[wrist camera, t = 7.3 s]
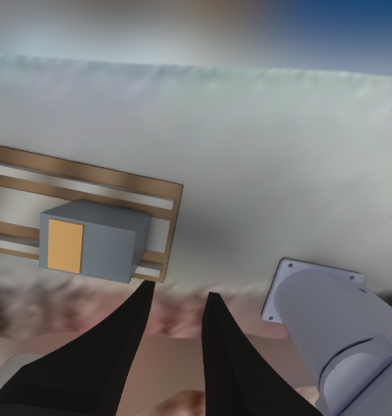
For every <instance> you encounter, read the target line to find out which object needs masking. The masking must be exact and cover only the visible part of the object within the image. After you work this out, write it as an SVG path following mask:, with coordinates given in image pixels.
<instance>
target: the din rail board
mask: <svg viewBox="0 0 392 416" xmlns="http://www.w3.org/2000/svg"><path fill="white" fill-rule="evenodd" d="M182 187H183V185H182V184H177V183H172V182H168V181H163V180H158V179H154V178H149V177H144V176H139V175H135V174H130V173H125V172H121V171H116V170H111V169H107V168H102V167H97V166H93V165H88V164H83V163H79V162H74V161H69V160H64V159H60V158H55V157H50V156H46V155H41V154H36V153H32V152H27V151H22V150H18V149H13V148H8V147H4V146H0V253H4V254H9V255H15V256H20V257H26V258H31V259H36V260H39V235H40V212H43V211H46V210H49V209H52V208H55V207H57V206H60V205H63V204H66V203H69V202H72V201H74V200H77V199H84V200H89V201H94V202H99V203H104V204H109V205H114V206H119V207H123V208H128V209H133V210H138V211H143V212H148V213H151V219H150V225H149V231H148V237H147V243H146V249H145V254H144V256H143V258H142V260H141V262H140V264H139V265H138V267H137V269H136V271H135V273H134V275H133V278H139V279H144V280H149V281H155V282H160V283H163V282H164V278H165V273H166V268H167V263H168V258H169V253H170V248H171V243H172V238H173V233H174V228H175V222H176V217H177V212H178V207H179V202H180V197H181V192H182Z"/></svg>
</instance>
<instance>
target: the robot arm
mask: <svg viewBox="0 0 392 416" xmlns="http://www.w3.org/2000/svg"><path fill="white" fill-rule="evenodd" d="M290 263H291V265H290V266H288V265H289V264H290ZM350 276H351V277H350ZM364 280H365V277H364V276H363V275H362V274H360V273H355V272H350V271H345V270H340V269H335V268H330V267H324V266H319V265H314V264H309V263H304V262H299V261H294V260H289V259H283V260H282V261H281V262H280V265H279V268H278V271H277V273H276V276H275V279H274V282H273V284H272V287H271V290H270V293H269V296H268V298H267V301H266V304H265V307H264V309H263V312H262V318H263V320H265V321H270V322H275V323H281V324H284V326H285V328H286V330H287V332H288V334H289V336H290V338H291V340H292V341H293V343H294V345H295V347H296V349H297V351H298V353H299V355H300V357H301V359H302V360H303V362H304V364H305V366H306V368H307V370H308V372H309V374H310V376H311V378H312V380H313V381H314V383H315V385H316V387H317V389H318V391H319V393H320V396H319V398H318V400H317V401H316V402H315V404H316V406H317V409H316V408H315V407H314V406H313V405H312V404H310V403H309V402H308V401H307V400H306V399H304V398H303V397H302V396H301V395H300V394H299V393H297V392H296V391H295V390H294V389H293V388H292V387H291V386H290V385H289V384H287V382H286V381H284V380H283V378H281V377H280V375H278V374H277V373H276V371H274V369H273V368H272V367H271V366H270V365H269V364H268V363H267V362H266V361H265V360H264V359H263V358H262V357H261V355H260V354H259V353H258V352H257V350H256V349H255V348H254V347H253V346H252V344H251V343H250V342H249V340H248V339H247V338H246V336H245V335H244V333H243V332H242V331H241V329H240V328H239V326H238V325H237V323H236V321H235V320H234V318H233V317H232V315H231V313H230V312H229V310H228V308H227V306H226V305H225V303H224V301H223V299H222V297H221V296H220V294H219V293H213V292H209V295H208V299H207V303H206V306H205V310H204V314H203V318H202V350H203V362H204V375H205V392H206V415H205V416H392V307H391V306H389V305H388V304H387V303H385V302H384V301H383V300H382V299H380V298H379V297H378V296H376V295H375V294H374V293H372V292H371V291H370V290H369V289H367V288H366V287H365V286H363V285H362V284H363V282H364ZM155 283H156V282H154V281H149V280H145V281H143V282H142V284H141V285H140V286H139V287H138V288H137V290H136V291H135V292H134V293H133V294H132V295H131V296H130V297H129V298H128V299H127V300H126V301H125V302H124V303H123V304H122V305H121V306H119V307H118V308H117V309H116V310H115V311H114V312H113V313H111V314H110V315H109V316H108V317H106V318H105V319H104V320H103V321H101V322H100V323H99V324H97V325H96V326H94V327H93V328H91V329H90V330H88V331H87V332H86V333H84V334H82V335H81V336H79V337H78V338H76V339H74V340H73V341H71V342H69V343H67V344H66V345H64V346H62V347H60V348H59V349H57V350H55V351H53V352H51V353H50V354H47V355H45V356H43V357H41V358H39V359H37V360H35V361H33V362H31V363H29V364H26V365H24V366H22V367H21V368H20V369H19V370H18V371H17V372H16V373H15V374H14V375H13V376H12V377H11V378H10V379H9V380H8V381H7V382H6V383H5V384H4V385H3V386H2V387H1V389H0V416H116V412H117V409H118V405H119V402H120V399H121V395H122V392H123V388H124V385H125V382H126V379H127V376H128V373H129V370H130V367H131V364H132V362H133V359H134V357H135V354H136V351H137V349H138V346H139V343H140V341H141V338H142V336H143V333H144V330H145V328H146V324H147V321H148V317H149V313H150V309H151V304H152V299H153V293H154V288H155ZM271 316H272V317H271Z"/></svg>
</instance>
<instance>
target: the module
mask: <svg viewBox="0 0 392 416" xmlns="http://www.w3.org/2000/svg"><path fill="white" fill-rule="evenodd" d="M150 219H151V213H148V212H143V211H138V210H133V209H128V208H123V207H119V206H114V205H109V204H104V203H99V202H94V201H89V200H84V199H77V200H74V201H72V202H69V203H66V204H63V205H60V206H57V207H55V208H52V209H49V210H46V211H43V212H40V235H39V267H41V268H46V269H52V270H57V271H62V272H68V273H73V274H79V275H84V276H89V277H95V278H100V279H106V280H111V281H116V282H122V283H127V284H129V282H130V280H131V278H132V277H133V275H134V273H135V271H136V269H137V267H138V265H139V264H140V262H141V260H142V258H143V256H144V254H145V249H146V243H147V237H148V231H149V225H150Z"/></svg>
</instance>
